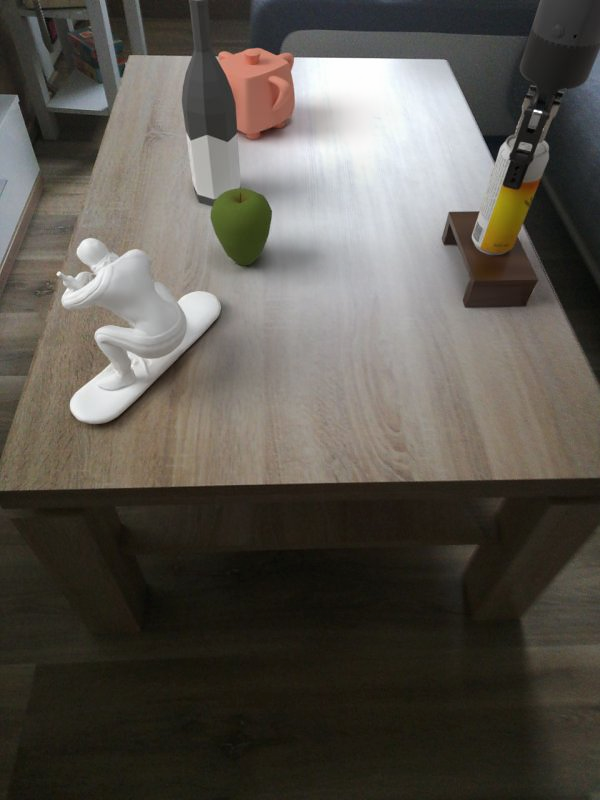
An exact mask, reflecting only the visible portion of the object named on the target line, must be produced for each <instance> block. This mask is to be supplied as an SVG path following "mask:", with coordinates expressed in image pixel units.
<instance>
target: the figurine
mask: <svg viewBox="0 0 600 800" xmlns="http://www.w3.org/2000/svg"><path fill="white" fill-rule="evenodd" d="M76 256H77V258H78V259H79V260H80V261H81V262H82V263H83V264H84V265H87V267H89V269H90V270H91V271H81V272H79V273H78V274H77V275H76V276H75V277H73V276H72V275H65V274H64V273H63V272H61V271H57V272H56V276H57V277H58V278H59V279H61V280H62V285H64V287H66V290H65V291H64V293H63V294H62V296H61V305H62V308H64V309H65V310H67V311H74V310H84V309H88V308H92V307H96V306H98V307H101V308H102V309H103V308H104V309H106V310H107V311H109V312H111V313H113V314H115V315H117V316H118V317H119V318H121V319H122V320H124V321H126V322H127V323H128V324H129V325H130V326H131V327H123V326H118V325H113V324H107V325H103V326H101V327H99V328H98V329H96V331H95V333H94V340H95V343H96V344H97V346H98V347H99V349H100V350H101V352H102V353H103V354H104V355H105V356H106V357H107V359H108V360H109V362H110V363H109V364H108V365H107V366H106V367H105V368H104V369H103V370H102V371H101V372H99V373H98V374H97V375H95V376H94V377H93V378H92V379H90V380H89V381H88V382H87V383H86V384H84V385H83V386H82V387H80V388H79V389H78V390H77V391H76V392H75V393H74V394H73V395H72V397H71V399H70V401H69V409H70V412H71V413H72V415H73V417H75V418H76V420H78V421H79V422H81V423H85V424H90V425H98V424H105V423H108V422H111V421H113V420H115V419H117V418H118V417H119V416H120V415H121V414H122V413H123V412H124V411H126V410H127V409H128V408H129V407H130V406H131V405H132V404H133V403H135V402H136V400H138V399H139V398H140V397H141V396H142V395H143V394H144V393H145V392H146V391H147V389H149V387H151V385H152V384H154V382H155V381H157V380H158V378H160V377H161V376H162V375H163V374H164V373H165V372H166V371H167V370H168V369H169V368H170V367H171V366H172V365H173V364H174V363H175V362H176V361H177V360H178V359H179V358H180V356H182V355H183V354H184V353H185V352H186V351H187V350H188V349H189V348H190V347H191V346H192V345H193V344H195V342H196V341H197V340H198V339H199V338H200V337H202V335H203V334H204V333H205V332H206V331H207V330H208V329H209V328H210V327H211V326H212V325H213V323H214V322H215V321H216V320H217V319H218V317H220V314H221V310H222V308H221V307H222V306H221V302H220V300H219V299H218V297H217V296H215V294H213V293H211V292H208V291H204V290H197V291H191V292H188V293H187V294H185V295H183V296H181V297H180V299H179V300H178V301H177V300H176V298H175V297H174V296H173V294H172V293H171V292H170V290H169V289H168V288H167V287H166V285H165V284H164V283H163V282H160V281H154V272H153V267H152V259H151V256H149V254H147V253H146V252H145V251H143V250H141V249H139V248H133V249H130V250H128V251H126V252H125V253H123V254H122V255H120V256H119V255H118V254H117V253H115V252H113V251H109V250H108V248H107V246H106V245H105V243H104V242H103V241H101V240H99V239H97V238H94V237H89V238H85V239H83V240H82V241H81V242H80V243H79V245H78V246H77V248H76ZM93 275H95V277H93Z"/></svg>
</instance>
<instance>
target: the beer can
mask: <svg viewBox="0 0 600 800" xmlns="http://www.w3.org/2000/svg"><path fill="white" fill-rule="evenodd" d="M515 141H516V137H515V133H514V134H511V135H509V136H508V137H507V138H506V139H505V141H504V142H503V143H502V144H501V145H500V147H499V150H498V153H497V156H496V160H495V163H494V166H493V169H492V172H491V175H490V178H489V181H488V184H487V188H486V190H485V193H484V197H483V199H482V203H481V206H480V209H479V211H480V212H479V215H478V218H477V221H476V224H475V227H474V230H473V233H472V240H473V242H474V244H475V246H476V248H477V249H479V250H480V251H482V252H484V253H486V254H490V255H501V254H504V253H506V252H507V251H509V250H511V249H512V248H513V247H514V244H515V242H516V239H517V237H518V238H519V235H520V232H521V230H522V228H523V224H524V222H525V219H526V217H527V214H528V212H529V209H530V207H531V204H532V202H533V199H534V197H535V194H536V192H537V190H538V187H539V184H540V182H541V180H542V177H543V175H544V172H545V169H546V167H547V164H548V162H549V160H550V153H549V151H550V145H549V143H548V142H547V141H546V140H544V141H543V142H542V143H539V144H538V145H537V147H536V150H535V153H534V155H533V156H534V159H533V162H531V163H530V165H529V166H528V169H527V172H526V174H525V177H524V180H523V182H522V185H521V187H520V189H518V190H514V189H511V188H507V187H504V186H503V181H504V178H505V175H506V172H507V169H508V167H509V164H510V161H511V160H509V159H510V157H509V155H510V152H511V151H512V150H513V147H514V144H515ZM519 149H523V150H527V151H530V152H531V149H532V144H529V143H525V142H520V145H519Z"/></svg>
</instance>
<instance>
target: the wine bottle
mask: <svg viewBox="0 0 600 800" xmlns="http://www.w3.org/2000/svg"><path fill="white" fill-rule="evenodd" d="M188 3H189V11H190V22H191V31H192V39H193V40H192V41H193V52H192V54H191V55H192V56H191V58H190V61H189V64H188V66H187V68H186V71H185V75H184V78H183V84H182V91H181V93H182V94H181V106H182V107H181V108H182V113H183V120H184V122H183V123H184V127H185V136H186V143H187V150H188V158H189V164H190V171H191V179H192V185H193V191H194V195H195V196H196V198H197V200H198V202H199V203H200V204H203V205H206V206H207V205H208V206H210V207H213V204H214V201H215V200H216V199H217V198H218V196H220V195H221V194H222V193H224V192H226V191H228V190H231V189H237V188H242V184H241V169H240V154H239V153H240V152H239V138H238V137H239V136H238V135H239V134H238V130H237V119H236V103H235V100H234V96H233V92H232V89H231V86H230V84H229V81H228V79H227V76H226V74H225V72H224V71H223V69H222V67H221V65H220V63H219V62H218V61H219V59H218V57H217V56H216V55H215V53H214V50H213V44H212V34H211V24H210V23H211V21H210V11H209V0H188Z"/></svg>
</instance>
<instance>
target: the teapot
mask: <svg viewBox="0 0 600 800" xmlns="http://www.w3.org/2000/svg"><path fill="white" fill-rule="evenodd" d="M217 60H218V62H219V63H220V65H221V67H222V69H223V71H224V72H225V74H226V76H227V79H228V81H229V84H230V86H231V89H232V92H233V96H234V100H235V103H236V119H237V131H239V132H241V133H243V134H245V135H246V137H247V138H248V139H249V140H258V139H259V138H260V137H261V132H263V131H266V130H269V129H271V128H274V129H281V128H283V127H285V123H284V122H285V121H287V120H288V119H290V118H291V117H292V116H293V113H294V110H295V105H296V104H295V103H296V97H295V96H296V95H295V94H296V93H295V85H294V80H293V79H294V78H293V74H292V70H293V67H294V63H295V57H294V54H292V53H291V52H283V53H280V54H278V55H276V54H275V53H272V52H270V51H267V50H265V49H263V48H260V47H255V48H254V47H253V48H247V49H245V50H243V51H239V52H237V53H231V52H228V51H226V50H225V51H220V52H219V53H218V56H217Z"/></svg>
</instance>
